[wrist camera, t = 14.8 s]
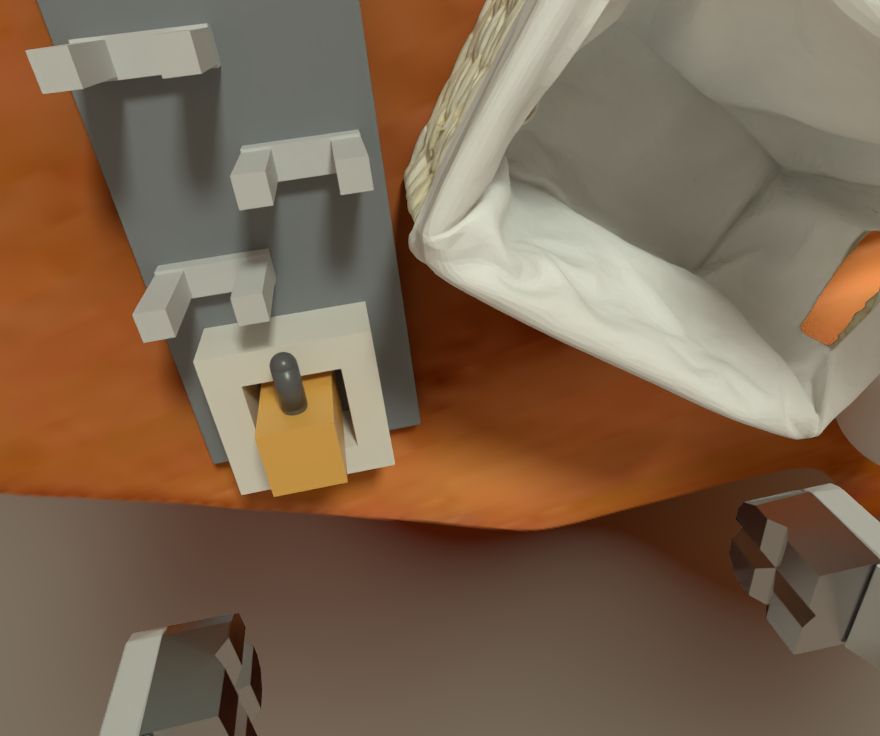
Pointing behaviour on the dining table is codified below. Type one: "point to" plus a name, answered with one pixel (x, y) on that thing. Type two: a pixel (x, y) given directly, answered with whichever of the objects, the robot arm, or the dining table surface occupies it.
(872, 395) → the ornament
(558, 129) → the storage basket
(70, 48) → the board
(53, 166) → the dining table surface
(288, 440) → the plug
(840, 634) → the robot arm
